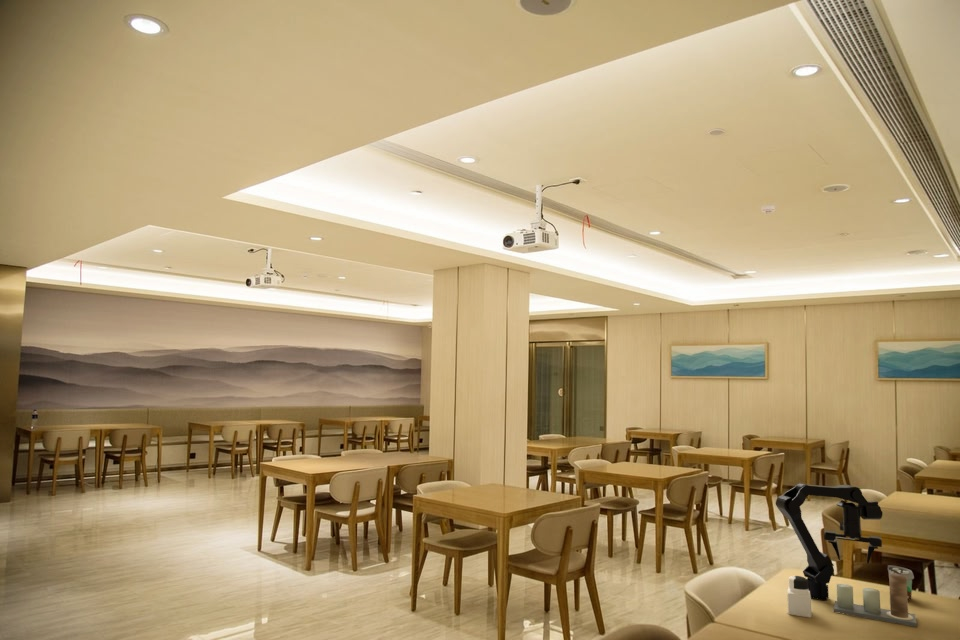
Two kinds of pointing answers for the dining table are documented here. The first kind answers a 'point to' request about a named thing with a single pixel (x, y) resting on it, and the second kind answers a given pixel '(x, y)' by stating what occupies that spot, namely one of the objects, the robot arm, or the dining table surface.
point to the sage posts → (869, 598)
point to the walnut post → (898, 595)
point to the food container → (906, 573)
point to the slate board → (877, 615)
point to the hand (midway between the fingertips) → (853, 561)
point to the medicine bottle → (799, 597)
